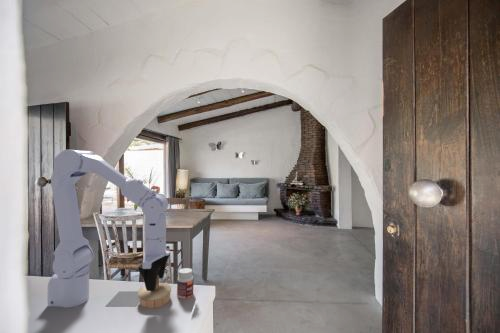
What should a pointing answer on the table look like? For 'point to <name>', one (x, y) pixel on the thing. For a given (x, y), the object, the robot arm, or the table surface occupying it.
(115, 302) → the coaster
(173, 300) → the table surface
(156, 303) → the bowl
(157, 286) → the lid
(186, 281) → the pill bottle
